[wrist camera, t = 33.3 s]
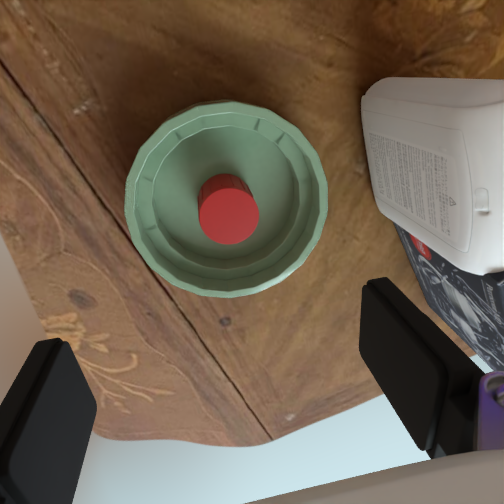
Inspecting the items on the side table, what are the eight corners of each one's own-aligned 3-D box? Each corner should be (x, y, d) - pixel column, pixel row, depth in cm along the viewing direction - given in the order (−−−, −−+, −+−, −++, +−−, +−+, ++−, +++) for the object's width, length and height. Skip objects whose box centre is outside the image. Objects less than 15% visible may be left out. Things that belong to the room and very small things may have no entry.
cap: (238, 163, 25) (245, 177, 21) (258, 211, 26) (268, 230, 23) (188, 186, 25) (187, 203, 21) (211, 232, 27) (214, 254, 23)
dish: (157, 283, 28) (152, 311, 25) (111, 112, 22) (96, 118, 19) (311, 257, 30) (328, 281, 26) (307, 88, 24) (327, 89, 20)
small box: (381, 206, 28) (497, 283, 18) (457, 158, 27) (626, 210, 17) (426, 308, 34) (532, 411, 24) (490, 272, 33) (628, 363, 23)
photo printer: (421, 199, 29) (564, 273, 18) (373, 217, 29) (486, 303, 18) (409, 67, 24) (594, 59, 13) (351, 89, 24) (487, 101, 13)
